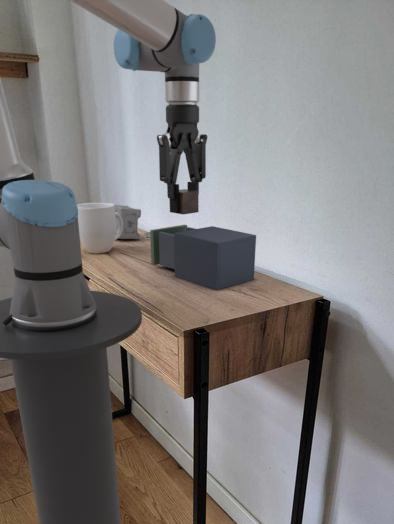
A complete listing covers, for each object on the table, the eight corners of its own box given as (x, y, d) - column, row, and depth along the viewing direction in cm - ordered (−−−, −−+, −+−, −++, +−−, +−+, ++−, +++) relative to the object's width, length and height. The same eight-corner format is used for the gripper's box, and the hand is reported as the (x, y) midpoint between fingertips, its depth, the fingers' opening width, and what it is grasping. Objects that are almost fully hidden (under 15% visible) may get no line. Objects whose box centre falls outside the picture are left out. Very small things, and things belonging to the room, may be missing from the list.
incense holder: (142, 239, 157) (141, 206, 152) (120, 242, 152) (117, 208, 148) (128, 234, 164) (126, 202, 159) (105, 237, 159) (103, 204, 155)
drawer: (139, 260, 128) (137, 227, 124) (172, 253, 135) (171, 221, 131) (185, 275, 116) (185, 238, 112) (219, 267, 123) (220, 232, 119)
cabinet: (174, 276, 118) (173, 232, 114) (211, 267, 126) (212, 226, 121) (216, 290, 108) (217, 243, 104) (253, 279, 116) (256, 235, 112)
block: (183, 214, 115) (182, 192, 113) (169, 212, 118) (169, 190, 116) (198, 212, 118) (198, 190, 116) (185, 210, 121) (184, 189, 119)
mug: (111, 243, 151) (108, 199, 146) (135, 248, 145) (132, 203, 139) (71, 251, 141) (66, 205, 136) (95, 257, 135) (91, 209, 129)
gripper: (200, 105, 116) (200, 205, 126) (139, 103, 105) (144, 213, 115) (222, 104, 111) (220, 209, 121) (161, 102, 100) (164, 217, 110)
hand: (183, 210), depth 118 cm, fingers closed on block, 5 cm apart
